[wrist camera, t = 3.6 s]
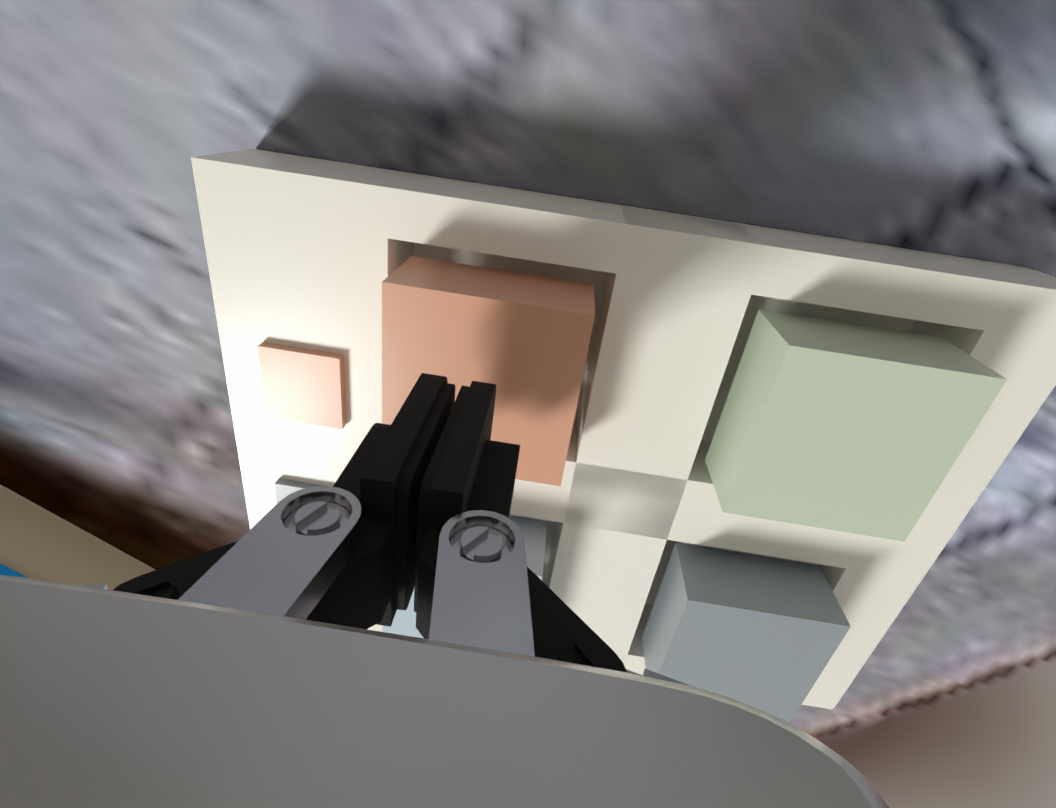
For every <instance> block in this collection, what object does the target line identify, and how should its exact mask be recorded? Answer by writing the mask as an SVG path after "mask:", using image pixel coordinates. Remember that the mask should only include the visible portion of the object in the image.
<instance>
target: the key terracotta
mask: <svg viewBox="0 0 1056 808" xmlns="http://www.w3.org/2000/svg"><path fill="white" fill-rule="evenodd" d="M594 319H595V303H594V286H593V284H590V283H583V282H577V281H570V280H564V279H557V278H551V277H544V276H538V275H532V274H525V273H519V272H512V271H506V270H499V269H493V268H486V267H480V266H473V265H467V264H461V263H454V262H448V261H441V260H435V259H428V258H422V257H415V256H411V257H410V258H409V259H407V260H406V261H405V262H404V263H403V264H402V265H401V266H399V267H398V268H397V269H396V270H395V271H394V272H393V273H391V274H390V275H389V276H388V277H387V278H386V279H385V280H383V281H382V424H389V425H391V424H392V422H393V421H394V419H395V417H396V415H397V414H398V412H399V410H400V409H401V407H402V405H403V404H404V402H405V400H406V399H407V397H408V395H409V394H410V392H411V390H412V388H413V387H414V385H415V383H416V382H417V380H418V378H419V377H420V375H421V374H422V373H426V374H432V375H439V376H445V377H447V381H448V383H450V384H455V400H456V398H457V396H458V393H459V391H460V389H461V386H469V387H470V385H471V382H472V381H478V382H484V383H491V384H496V397H495V406H494V414H493V423H492V431H491V440H492V441H499V442H505V443H512V444H518V445H520V451H519V458H518V465H517V472H516V478H515V479H518V480H524V481H530V482H536V483H543V484H549V485H555V486H561V482H562V477H563V472H564V467H565V462H566V457H567V453H568V448H569V443H570V438H571V433H572V428H573V423H574V418H575V413H576V408H577V403H578V398H579V393H580V388H581V383H582V378H583V373H584V368H585V363H586V358H587V353H588V348H589V343H590V338H591V333H592V329H593V324H594ZM454 403H455V402H454Z"/></svg>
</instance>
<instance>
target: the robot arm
mask: <svg viewBox="0 0 1056 808" xmlns="http://www.w3.org/2000/svg"><path fill="white" fill-rule="evenodd" d="M495 397H496V384H491V383H484V382H478V381H472V382H471V385H470V387H469V386H461V389H460V391H459V393H458V396H457V398H456V400H455V384H450V383H448V381H447V377H445V376H439V375H432V374H426V373H422V374H421V375H420V377H419V378H418V380H417V382H416V383H415V385H414V387H413V388H412V390H411V392H410V394H409V395H408V397H407V399H406V400H405V402H404V404H403V405H402V407H401V409H400V410H399V412H398V414H397V415H396V417H395V419H394V421H393V422H392V424H391V425H389V424H382V423H375V424H374V425H373V426H372V427H371V429H370V430H369V432H368V433H367V435H366V436H365V438H364V439H363V441H362V442H361V444H360V446H359V447H358V449H357V450H356V452H355V453H354V455H353V456H352V458H351V459H350V461H349V462H348V464H347V466H346V467H345V469H344V470H343V472H342V473H341V475H340V476H339V478H338V479H337V481H336V482H335V484H334V485H333V487H331V486H315V487H310V488H305V489H301V490H299V491H296V492H294V493H292V494H289V495H288V496H286V497H285V498H284V499H282V500H281V501H280V502H278V503H277V504H276V505H275V506H274V507H273V508H272V509H271V510H270V511H269V512H268V513H267V514H266V515H265V516H264V517H263V518H262V519H261V520H260V521H259V522H258V523H257V524H256V525H255V526H254V527H253V528H252V529H251V530H249V531H248V532H247V533H246V534H245V535H244V536H243V537H242V538H241V539H240V540H239V541H237V542H234V543H231V544H228V545H225V546H222V547H220V548H217V549H214V550H211V551H208V552H205V553H203V554H200V555H197V556H194V557H191V558H188V559H186V560H183V561H180V562H177V563H174V564H171V565H169V566H166V567H163V568H160V569H157V570H154V571H152V572H149V573H146V574H143V575H140V576H138V577H135V578H133V579H131V580H129V581H126V582H124V583H122V584H120V585H119V586H117V587H116V588H114V589H113V590H108V587H107V584H84V585H73V584H66V583H59V582H52V581H45V580H38V579H31V578H24V577H15V576H6V575H0V808H889V806H888V805H887V804H886V802H885V801H884V800H883V798H882V797H881V796H880V794H879V793H878V792H877V791H876V790H875V788H874V787H873V786H872V785H871V784H870V783H869V782H868V780H867V779H866V778H865V777H864V776H863V775H862V774H861V773H860V772H859V771H857V770H856V769H855V768H854V767H853V766H851V764H850V763H848V762H847V761H846V760H845V759H844V758H842V757H841V756H839V755H838V754H837V753H835V752H834V751H833V750H831V749H830V748H828V747H827V746H826V745H824V744H822V743H821V742H820V741H818V740H816V739H815V738H813V737H812V736H810V735H808V734H807V733H805V732H803V731H802V730H800V729H798V728H796V727H794V726H792V725H790V724H788V723H786V722H784V721H782V720H780V719H779V718H777V717H775V716H773V715H771V714H769V713H767V712H765V711H762V710H760V709H757V708H755V707H752V706H750V705H747V704H745V703H742V702H740V701H737V700H735V699H732V698H729V697H727V696H724V695H720V694H717V693H713V692H710V691H706V690H703V689H699V688H696V687H693V686H691V685H688V684H685V683H683V682H680V681H677V680H675V679H672V678H669V677H667V676H664V675H661V674H658V673H656V672H653V671H650V670H648V669H644V671H643V674H642V675H641V674H638V673H635V672H633V671H630V670H627V669H625V666H624V664H623V662H622V661H621V660H620V658H619V657H618V656H617V654H616V653H615V652H614V651H613V650H612V649H611V648H610V647H609V646H608V645H607V644H606V643H605V642H604V641H603V640H602V639H601V638H600V637H599V636H598V635H597V634H596V633H595V632H594V631H593V630H592V629H591V628H590V627H589V626H588V625H587V624H586V623H585V622H584V621H583V620H582V619H581V618H580V617H579V616H577V615H576V614H575V613H574V612H573V611H572V610H571V609H570V608H569V607H568V606H567V605H566V604H565V603H564V602H563V601H562V600H561V599H560V598H559V597H558V596H557V595H556V594H555V593H554V592H553V591H552V590H551V589H550V588H549V587H548V586H547V585H546V584H545V583H544V582H543V581H542V580H541V579H540V578H539V577H538V576H537V575H536V574H535V573H534V572H533V571H532V570H531V569H529V568H528V567H527V563H526V552H525V541H524V537H523V534H522V531H521V530H520V528H519V527H518V526H517V525H516V523H515V522H513V521H512V520H510V519H509V516H510V510H511V504H512V498H513V491H514V485H515V478H516V472H517V465H518V458H519V451H520V445H518V444H512V443H505V442H499V441H492V440H491V431H492V423H493V414H494V406H495ZM454 402H455V403H454ZM414 587H415V589H414ZM413 590H414V612H416V628H417V630H418V631H419V632H420V634H421V635H422V637H423V638H418V637H412V636H405V635H399V634H393V633H386V632H380V631H374V630H367V629H368V628H370V627H372V626H374V625H376V624H377V625H383V626H389V627H391V625H392V622H393V619H394V617H395V614H396V611H397V609H398V610H406V609H407V608H408V605H409V602H410V599H411V596H412V593H413Z"/></svg>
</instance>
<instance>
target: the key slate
mask: <svg viewBox="0 0 1056 808" xmlns="http://www.w3.org/2000/svg"><path fill="white" fill-rule="evenodd" d="M850 627H851V626H850V624H849V622H848V620H847V618H846V616H845V614H844V612H843V610H842V609H841V607H840V605H839V603H838V601H837V599H836V597H835V595H834V593H833V591H832V589H831V587H830V585H829V583H828V581H827V579H826V577H825V576H824V574H823V572H822V570H821V568H820V566H817V565H811V564H805V563H799V562H793V561H786V560H780V559H774V558H768V557H762V556H755V555H749V554H743V553H737V552H731V551H724V550H718V549H712V548H706V547H700V546H693V545H687V544H681V543H675V546H674V549H673V552H672V554H671V557H670V560H669V563H668V566H667V569H666V571H665V574H664V577H663V580H662V583H661V585H660V588H659V591H658V594H657V597H656V599H655V602H654V605H653V608H652V611H651V614H650V616H649V619H648V622H647V625H646V628H645V630H644V633H643V636H642V641H643V649H644V658H645V667H646V669H648V670H650V671H653V672H656V673H658V674H661V675H664V676H667V677H669V678H672V679H675V680H677V681H680V682H683V683H685V684H688V685H691V686H693V687H696V688H699V689H703V690H706V691H710V692H713V693H717V694H720V695H724V696H727V697H729V698H732V699H735V700H737V701H740V702H742V703H745V704H747V705H750V706H752V707H755V708H757V709H760V710H762V711H765V712H767V713H769V714H771V715H773V716H775V717H777V718H779V719H780V720H784V721H790V722H791V720H792V719H793V717H794V716H795V714H796V712H797V711H798V709H799V708H800V706H801V704H802V703H803V701H804V700H805V698H806V697H807V695H808V693H809V692H810V690H811V689H812V687H813V686H814V684H815V682H816V681H817V679H818V678H819V676H820V674H821V673H822V671H823V670H824V668H825V667H826V665H827V663H828V662H829V660H830V659H831V657H832V656H833V654H834V652H835V651H836V649H837V648H838V646H839V644H840V643H841V641H842V640H843V638H844V637H845V635H846V633H847V632H848V630H849V629H850Z"/></svg>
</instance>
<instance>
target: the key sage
mask: <svg viewBox="0 0 1056 808" xmlns="http://www.w3.org/2000/svg"><path fill="white" fill-rule="evenodd" d="M1006 381H1007V379H1006V378H1004V377H1003V376H1001V375H1000V374H998V373H997V372H995V371H994V370H992V369H990V368H989V367H987V366H986V365H984V364H983V363H981V362H980V361H978V360H976V359H975V358H973V357H972V356H970V355H969V354H967V353H966V352H964V351H963V350H961V349H959V348H958V347H956V346H955V345H953V344H952V343H950V342H949V341H947V340H945V339H944V338H938V337H932V336H925V335H919V334H912V333H906V332H899V331H893V330H887V329H880V328H874V327H867V326H861V325H854V324H848V323H841V322H835V321H828V320H822V319H816V318H809V317H803V316H796V315H790V314H783V313H777V312H770V311H764V310H758V312H757V315H756V318H755V321H754V324H753V327H752V329H751V332H750V335H749V338H748V341H747V343H746V346H745V349H744V352H743V355H742V357H741V360H740V363H739V366H738V369H737V372H736V374H735V377H734V380H733V383H732V386H731V388H730V391H729V394H728V397H727V400H726V403H725V405H724V408H723V411H722V414H721V417H720V419H719V422H718V425H717V428H716V431H715V433H714V436H713V439H712V442H711V445H710V448H709V450H708V453H707V456H706V459H705V462H706V465H707V468H708V471H709V474H710V477H711V479H712V482H713V485H714V488H715V491H716V494H717V497H718V500H719V503H720V506H721V509H722V511H723V512H724V513H730V514H736V515H742V516H748V517H755V518H761V519H767V520H773V521H780V522H786V523H792V524H798V525H805V526H811V527H817V528H823V529H830V530H836V531H842V532H848V533H854V534H861V535H867V536H873V537H879V538H886V539H892V540H898V541H904V542H905V540H906V539H907V537H908V535H909V534H910V532H911V531H912V529H913V528H914V526H915V524H916V523H917V521H918V520H919V518H920V516H921V515H922V513H923V512H924V510H925V509H926V507H927V505H928V504H929V502H930V501H931V499H932V498H933V496H934V494H935V493H936V491H937V490H938V488H939V486H940V485H941V483H942V482H943V480H944V479H945V477H946V475H947V474H948V472H949V471H950V469H951V467H952V466H953V464H954V463H955V461H956V460H957V458H958V456H959V455H960V453H961V452H962V450H963V449H964V447H965V445H966V444H967V442H968V441H969V439H970V437H971V436H972V434H973V433H974V431H975V430H976V428H977V426H978V425H979V423H980V422H981V420H982V419H983V417H984V415H985V414H986V412H987V411H988V409H989V407H990V406H991V404H992V403H993V401H994V400H995V398H996V396H997V395H998V393H999V392H1000V390H1001V388H1002V387H1003V385H1004V384H1005V382H1006Z"/></svg>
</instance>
